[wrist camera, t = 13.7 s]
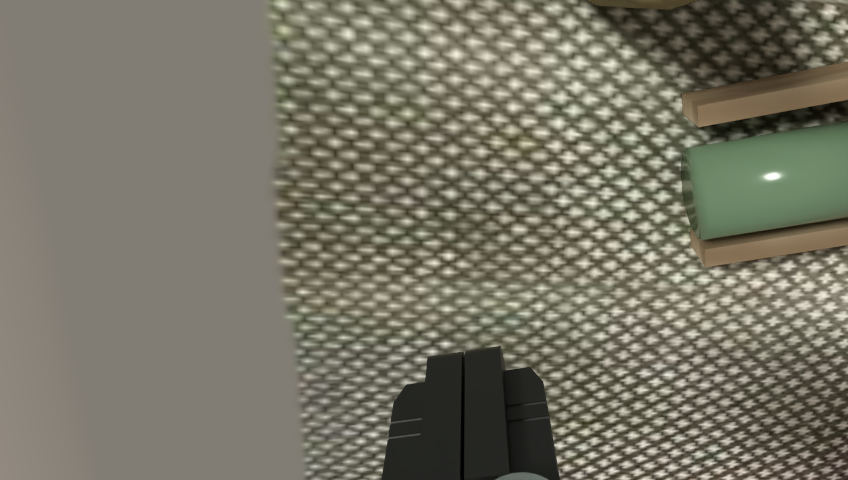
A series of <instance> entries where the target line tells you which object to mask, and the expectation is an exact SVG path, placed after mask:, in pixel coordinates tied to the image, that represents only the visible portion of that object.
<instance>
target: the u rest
mask: <svg viewBox="0 0 848 480" xmlns="http://www.w3.org/2000/svg"><path fill="white" fill-rule="evenodd" d="M844 100H848V62H844V63H839V64H833V65H828V66H823V67H818V68H813V69H807V70H802V71H797V72H792V73H787V74H782V75H776V76H771V77H766V78H761V79H756V80H750V81H745V82H740V83H735V84H730V85H724V86H719V87H714V88H709V89H704V90H698V91H693V92H688V93H683V94H682V105H683V114H684V115H685V116H686V117H687V118H689V119H690V120H691V121H692V122H693V123H694V124H695V125H697V126H698V127H703V126H708V125H714V124H719V123H725V122H730V121H735V120H741V119H746V118H752V117H757V116H762V115H768V114H773V113H779V112H784V111H790V110H795V109H800V108H806V107H811V106H817V105H822V104H827V103H833V102H838V101H844ZM690 237H691V247H692V248H693V249H694V251H695V252H696V254H697V255H698V257H699V258H700V260H701V261H702V262H703V264H704V265H705V267H711V266H717V265H723V264H730V263H736V262H743V261H749V260H755V259H762V258H768V257H774V256H781V255H787V254H794V253H800V252H806V251H813V250H819V249H826V248H832V247H838V246H845V245H848V217H847V218H841V219H834V220H828V221H821V222H815V223H808V224H802V225H795V226H789V227H783V228H776V229H770V230H763V231H757V232H750V233H744V234H737V235H731V236H725V237H718V238H712V239H705V240H700V239H699V238H698V237H697V236H696V235H695V233H694V231H693V229H690Z"/></svg>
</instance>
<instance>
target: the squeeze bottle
mask: <svg viewBox="0 0 848 480" xmlns="http://www.w3.org/2000/svg"><path fill="white" fill-rule="evenodd" d="M587 1H589V2H591V3H593V4H595V5H597V6H611V7H625V8H646V9H669V10H671V9H674V8H677V7H680V6H683V5H686V4H689V3H692V2H695V1H698V0H587Z"/></svg>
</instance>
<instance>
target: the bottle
mask: <svg viewBox="0 0 848 480" xmlns="http://www.w3.org/2000/svg"><path fill="white" fill-rule="evenodd" d="M681 177H682V192H683V199H684V204H685V208H686V212H687V216H688V219H689V222H690V225H691V227H692V229H693V231H694V233H695V235H696V236H697V237H698V238H699V239H700V240H705V239H712V238H718V237H725V236H731V235H737V234H744V233H750V232H757V231H763V230H770V229H776V228H783V227H789V226H795V225H802V224H808V223H815V222H821V221H828V220H834V219H841V218H847V217H848V120H847V121H841V122H835V123H830V124H824V125H818V126H812V127H807V128H801V129H795V130H789V131H784V132H778V133H772V134H766V135H761V136H755V137H749V138H743V139H738V140H732V141H726V142H720V143H714V144H709V145H703V146H697V147H691V148H687V149H685V151H684V152H683V156H682V161H681Z"/></svg>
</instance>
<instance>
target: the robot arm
mask: <svg viewBox="0 0 848 480" xmlns="http://www.w3.org/2000/svg"><path fill="white" fill-rule="evenodd" d="M388 437H389V440H388V442H387V449H386V455H385V462H384V468H383V475H382V480H560V478H559V472H558V465H557V459H556V453H555V447H554V441H553V435H552V430H551V424H550V418H549V413H548V407H547V401H546V395H545V390H544V384H543V381H542V380H541V379H540V378H539V377H538V375H537V374H536V373H535V372H534V371H533V370H532V369H531V368H530V367H527V368H520V369H513V370H506V368H505V363H504V358H503V353H502V349H501V346H498V347H491V348H484V349H477V350H470V351H466V352H465V355H464V352H458V353H451V354H444V355H437V356H430V357H428V359H427V369H426V379H425V382H422V383H415V384H408V385H406V386H405V387H404V389H403V390H402V391H401V393H400V394H399V396H398V397H397V399H396V400H395V401H394V404H393V410H392V417H391V425H390V430H389V436H388Z"/></svg>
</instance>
